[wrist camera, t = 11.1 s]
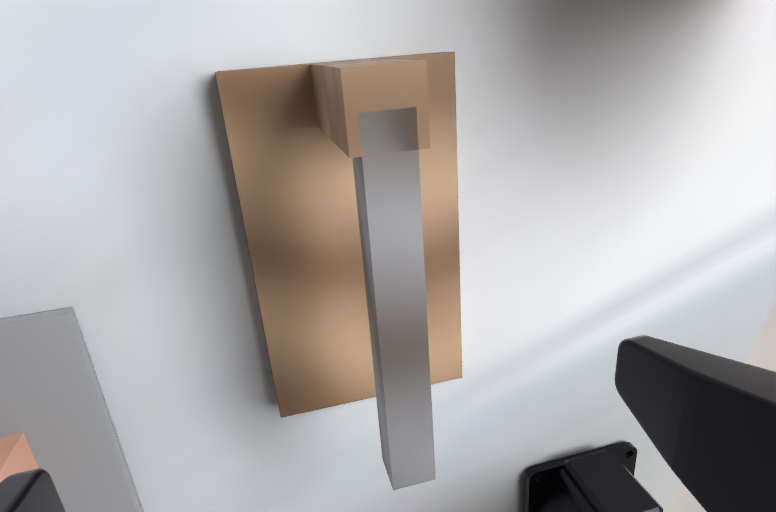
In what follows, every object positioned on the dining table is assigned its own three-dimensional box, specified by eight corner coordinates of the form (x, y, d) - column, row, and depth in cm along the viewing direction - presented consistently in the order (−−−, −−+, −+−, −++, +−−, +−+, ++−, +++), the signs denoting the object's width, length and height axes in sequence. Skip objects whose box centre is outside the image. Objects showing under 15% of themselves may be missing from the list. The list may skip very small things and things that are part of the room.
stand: (216, 71, 17) (198, 80, 11) (444, 52, 19) (545, 49, 12) (279, 403, 22) (292, 541, 16) (454, 365, 24) (528, 477, 17)
